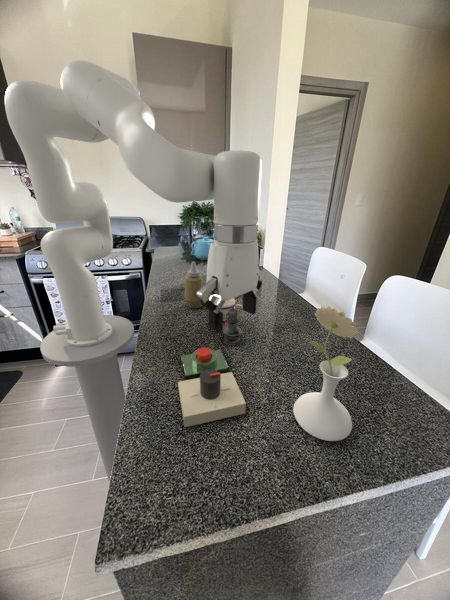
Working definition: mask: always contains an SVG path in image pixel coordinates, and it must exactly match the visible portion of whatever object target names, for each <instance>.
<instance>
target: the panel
mask: <svg viewBox="0 0 450 600" xmlns="http://www.w3.org/2000/svg"><path fill="white" fill-rule="evenodd" d="M220 375H221V383H220V395H219V396H218V397H217V398H215V399H211V400H209V399H205V398H203V397H202V396H201V394H200V378H196V379H191V380H185V379H184V380H180V381H177V387H178V395H179V401H180V408H181V414H182V420H183V427H184V428H188V427H193V426H197V425H201V424H205V423H206V424H207V423H209V422H215V421H217V420H223V419H228V418H231V417H235V416H240V415H245V414H246V408H247V407H246V405H247V403H246V400H245V398H244V396H243V394H242V392H241V389H240V387H239V385H238V383H237V381H236V378H235V376H234V373H233V372H232V371H230V372H229V371H228V373H223V374H220Z"/></svg>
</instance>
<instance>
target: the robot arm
mask: <svg viewBox="0 0 450 600" xmlns="http://www.w3.org/2000/svg"><path fill="white" fill-rule="evenodd" d="M60 85H61V88H59V87H56V86H52V85H51V84H46V83H43V82H39V81H34V80H27V79H20V80H15V81H12V82H11V83H10V84H9V85H8V86H7V88H6V91H5V95H4V109H5V114H6V119H7V121H8V125H9V127H10V129H11V133H12V134H13V136H14V138H15V140H16V142H17V144H18V146H19V148H20V150H21V152H22V154H23V156H24V161H25V162H26V167H27V169H28V175H29V178H30V182H31V185H32V189H33V193H34V197H35V201H36V204H37V207H38V210H39V213H40V214H41V216H42V218H43V219H44V220H45V221H47V222H49V223H51V224H57V225H58V224H59V225H60V224H73V223H80V222H81V223H82V222H83V223H82V224H83V225H81V226H73V227H65V228H59V229H54V230H51V231H49V232H47V233H46V234H45V235H43V237H42V238H41V240H40V249H41V252H42V254H43V256H44V259H45V260H46V262H47V264H48V266H49V269H50V270H51V273H52V275H53V279H54V281H55V284H56V287H57V291H58V294H59V297H60V300H61V304H62V308H63V310H64V314H65V318H66V323H65V324H66V325H64V324H58V325H53V330H52V331H54V332H56V335H62V334H65V335H66V341H67V343H68V344H69V345H71V346H75V347H85V346H91V345H95V344H98V343H100V342H102V341H104V340H106V339H107V338H108V337H109V336H110V335H111V334H112V326H111V325H110V324H108V323H105V319H104V315H105V314H104V311H103V306H102V301H101V296H100V291H99V286H98V282H97V279H96V277H95V274H94V273H92V271H90V269H88V268H87V266H86V265H85V264H88V263H91V262H93V261H97V260H100V259H104V258H106V257H109V256H110V255H111V253H112V252H113V248H114V239H113V231H112V226H111V219H110V211H109V205H108V202H107V199H106V197H105V194H104V193H103V191H102V190H101V189H100V188H99V187H98V185H96V184H94V183H92V182H88V181H76V180H75V177H74V174H73V168H72V163H71V161H70V158H69V157H68V155H67V154H66V152H65V151H64V149H63V147H61V145H60V144H59V143H58V142H57V141H56V140H55V138H60V139H61V138H63V139H67V140H71V141H72V140H73V141H78V142H84V143H85V142H86V143H91V144H92V143H93V144H95V143H101V142H104V141H108V140H110V141H112V142H113V143H114V144H115V145H116V146H118V151H119V153H120V156H121V158H122V160H123V163H124V164H125V166H126V168H127V170H128V171H129V172H130V173H131V175H133V176H134V177H135V178H136V179H137V180H138V181H139V182H141V183H142V184H143V185H144V186H146V187H147V188H148V189H149V190H150V191H152V192H153V193H154V194H155V195H157V196H158V197H160V198H162V199H164V200H167V201H169V202H172V203H179V204H180V203H188V202H189V203H190V202H203V201H212V200H213V240H214V242H213V243H211V245H210V249H209V255H208V259H207V263H206V282H205V284H203V285H204V286H203V287H202V288H201V289H200V290H199V291H198V292H197V297H198V298H199V300H200V302H201V304H202V307H204V308H205V309H206V310H208V326H209V327H210V328H212V329H213V328H214V329H213V330H215V331H216V332H220V333H221V332H223V331H222V329H223V312H221V311H220V310H221V308H222V306H223V305H224V303H225V301H227V300H230V299H232V298H234V299H235V298H238V297H240V296H242V306H243V310H244V311H243V312H245V313H248V314H251V315H255V314H256V313H257V299H258V296H259V295H260V291H259V290H261V287H262V285H263V280H264V277H265V274H266V272H265V271H263V270H261V269H260V258H259V257H260V255H259V243H258V231H259V230H258V229H259V216H260V215H259V214H260V201H261V185H262V184H261V183H262V170H263V169H262V166H263V161H262V157H261V156H260V154H258V153H257V152H255V151H249V150H225V151H221V152H219V153H218V154H216V155H215V154H208V153H203V152H199V151H195V150H190V149H187V148H186V149H185V148H180V147H177V146H176V145H174V144H173V143H171V142H170V141H169V140H168V139H166V138H165V137H163V136H162V135H161V134H160V133H158V132H157V131H156V130H155V129H156V120H155V119H156V118H155V115H154V113H153V110H152V109H151V107H150V106H149V105H148V104H147V103H146V102H145V101H143V100H142V97H141V95H140V93H139V91H138V89H137V88H136V86H135V85H134V84H133V83H132V82H131V81H129V79H127V78H125V77H123V76H122V75H119V74H117V73H115V72H114V71H113V72H112V71H110V70H109V69H106V68H104V67H102V66H101V65H98V64H95V63H94V62H91V61H88V60H87V61H86V60H82V59H81V60H80V59H79V60H72V61H71V62H68V63H67V64H66V65H65V66H64V67H63V69H62V71H61V74H60ZM220 294H221V295H220ZM216 298H218V299H219V300H218V302H217V304H216V305H215V304H214V302H215V300H216Z"/></svg>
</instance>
